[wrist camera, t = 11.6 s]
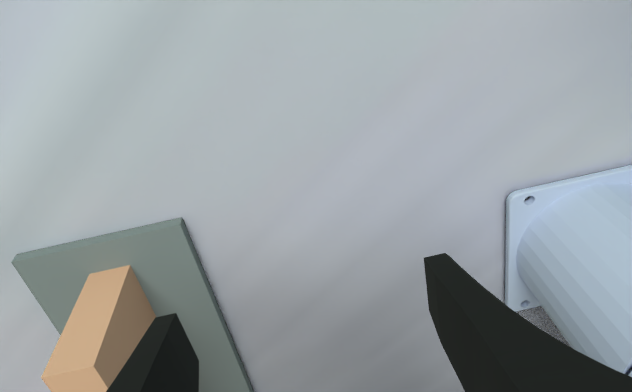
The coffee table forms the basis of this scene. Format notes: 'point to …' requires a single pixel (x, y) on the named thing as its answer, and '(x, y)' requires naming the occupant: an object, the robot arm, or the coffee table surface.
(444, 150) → the coffee table surface
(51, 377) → the tall tan wooden post
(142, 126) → the coffee table surface
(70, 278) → the slate mat
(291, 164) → the coffee table surface
